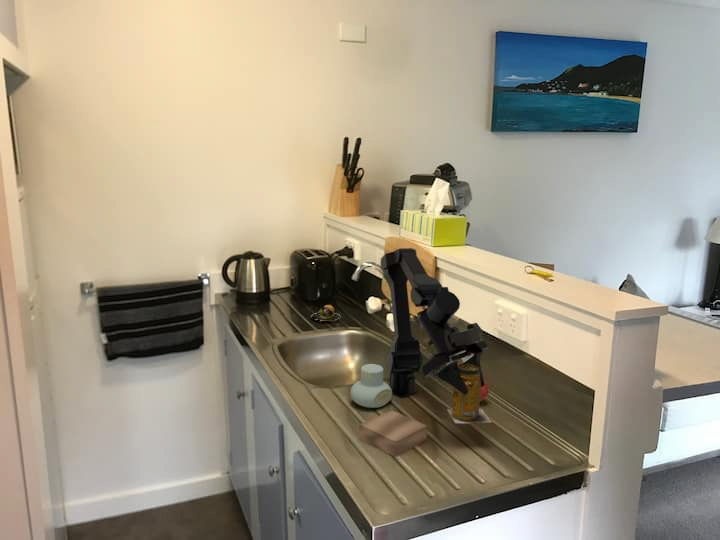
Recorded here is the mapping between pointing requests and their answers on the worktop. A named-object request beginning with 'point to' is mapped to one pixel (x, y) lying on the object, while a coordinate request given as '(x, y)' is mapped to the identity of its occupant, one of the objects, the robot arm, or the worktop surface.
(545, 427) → the worktop surface
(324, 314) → the burger
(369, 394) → the air freshener
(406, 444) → the pinkish brown square block
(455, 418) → the condiment
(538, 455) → the worktop surface
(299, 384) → the worktop surface
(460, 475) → the worktop surface
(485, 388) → the onion
